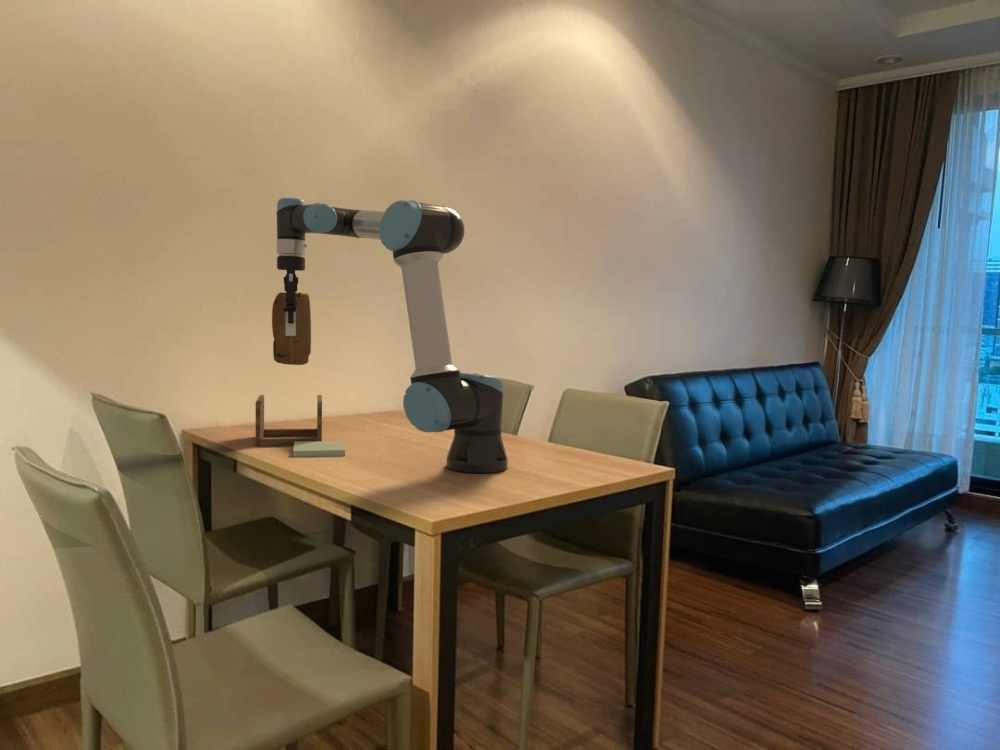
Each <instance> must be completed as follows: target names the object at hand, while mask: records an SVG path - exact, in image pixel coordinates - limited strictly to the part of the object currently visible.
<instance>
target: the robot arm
mask: <svg viewBox="0 0 1000 750" xmlns="http://www.w3.org/2000/svg"><path fill="white" fill-rule="evenodd" d="M276 203H277V204H276V213H275V214H276V236H277V237H276V254H277V255H278V256H277V257H276V269H277V270H279V271H286V274H285V276H283V284H284V289H283V290H284V292H286V308H283V311H288V312H286V336H296V312H295V311H296V306H295V293H298V284H299V276H297V274H296V271H297V272H298V271H301V272H303V271H305V269H306V258H305V257H304V256H305V254H306V249H307V248H308V244H306V243H305V241H306V234H322V235H331V236H332V235H333V236H342V237H351V238H356V239H369V240H370V239H373V240H380V242H381V244H382V245H383V246H384V247H385V248H386V250H389V251H391V252H392V257H393V262H394V264H395V265H396V266H398V267H399V268H400V269H401V275H402V281H403V282H402V283H403V287H404V289H403V290H404V295H405V303H406V309H407V318H408V323H409V331H410V337H411V338H410V339H411V346H412V353H413V359H414V360H413V361H414V365H415V369H414V371H413V372H412V374H411V375H410V378H409V379H410V385H409V386H408V387H407V388H406V389H405V392H404V393H405V394H404V395H403V398H402V402H403V403H402V404H403V410H404V413H405V414H404V415H405V416H406V418H407V420H408V422H409V424H411V425H412V426H413V427H415V429H417V430H418V431H421V432H422V433H442V432H445V431H446V432H447V431H451V430H454V431H453V432H454V433H453V438H452V442H451V444H450V448H449V450H448V453H447V455H446V464H445V465H446V468H448V469H449V470H452V471H455V472H461V473H462V472H463V473H469V474H470V473H471V474H472V473H473V474H488V473H489V474H491V473H497V472H502V471H505V470H507V469H508V463H509V462H508V461H509V460H508V456H507V452H506V448H505V445H504V442H503V438H502V429H503V428H502V427H503V426H502V423H503V399H504V397H503V396H504V391H503V390H504V389H503V388H504V387H503V381H502V379H501V378H500V377H498V376H491V375H481V374H473V373H465V372H461V370H460V369H459V368H458V367H457V366H455V365H454V364H453V361H452V355H451V353H452V352H451V347H450V339H449V333H448V326H447V319H446V311H445V304H444V297H443V292H442V291H443V290H442V284H441V277H440V271H439V270H440V269H439V262H440V261H441V260H442V258H443V257H444V254H449V253H452V252H453V251H455V250H456V249H458V247H460V245H461V243H462V242H463V239H464V237H465V224H464V222H463V219H462V217H461V216H460V215H459V213H457V211H455V210H454V209H452V208H450V207H448V206H444V205H437V204H431V203H426V202H425V203H424V202H418V201H416V200H401V199H400V200H397V201H396V200H395V201H394V202H392V203H391V204H390V205H389V206H387V208H386V209H385V211H380V210H379V211H378V210H377V211H376V210H361V209H352V208H343V207H342V208H341V207H336V206H335V207H334V206H331V205H329V204H327V203H320V202H315V203H312V204H306V201H305V200H304V199H301V198H295V197H287V198H286V197H282V198H279V199H278V200H277V202H276ZM305 248H306V249H305Z"/></svg>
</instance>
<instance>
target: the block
mask: <svg viewBox="0 0 1000 750" xmlns="http://www.w3.org/2000/svg"><path fill="white" fill-rule="evenodd" d="M295 306H296V311H295V312H296V336H286V312H288V311H283V308H286V291H284V292H282V291H281V292H278V293H277V294H276V296H275V298H274V301H273V302H272V311H271V325H272V326H271V328H272V329H271V330H272V337H273V345H272V347H273V349H272V353H273V354H272V355H273V360H274V361H275V362H276V363H278V364H282V365H291V366H302V365H303V366H304V365H306V364H308V363H309V360H310V359H309V357H310V355H311V353H312V352H311V351H312V318H311V317H312V316H311V301H310V295H309V294H308V293H303V292H295Z"/></svg>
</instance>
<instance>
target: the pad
mask: <svg viewBox="0 0 1000 750" xmlns="http://www.w3.org/2000/svg"><path fill="white" fill-rule="evenodd" d="M345 456H346V448H345V442H344V440H332V441H331V440H322V441H303V442H294V446H293V449H292V457H295V458H296V457H297V458H299V457H345Z"/></svg>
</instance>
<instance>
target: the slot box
mask: <svg viewBox="0 0 1000 750" xmlns="http://www.w3.org/2000/svg"><path fill="white" fill-rule="evenodd" d="M316 397H317V398H316V399H317V400H316V401H317V403H316V405H317V406H316V407H317V409H316V411H317V412H316V413H317V414H316V418H317V420H316V428H267V429H266V428H265V395H264V394H260V395H259V396H258V397H257V399H256V401H255V448H257V447H260V448H262V447H264V448H266V447H294V442H303V441H323V438H322V437H323V436H322V435H323V432H322V431H323V399H322V397H323V396H322V394H317V396H316ZM266 437H267V438H266ZM268 437H269V438H268ZM275 437H276V438H275ZM281 437H282V438H281ZM283 437H284V438H283ZM289 437H290V438H289Z"/></svg>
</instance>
